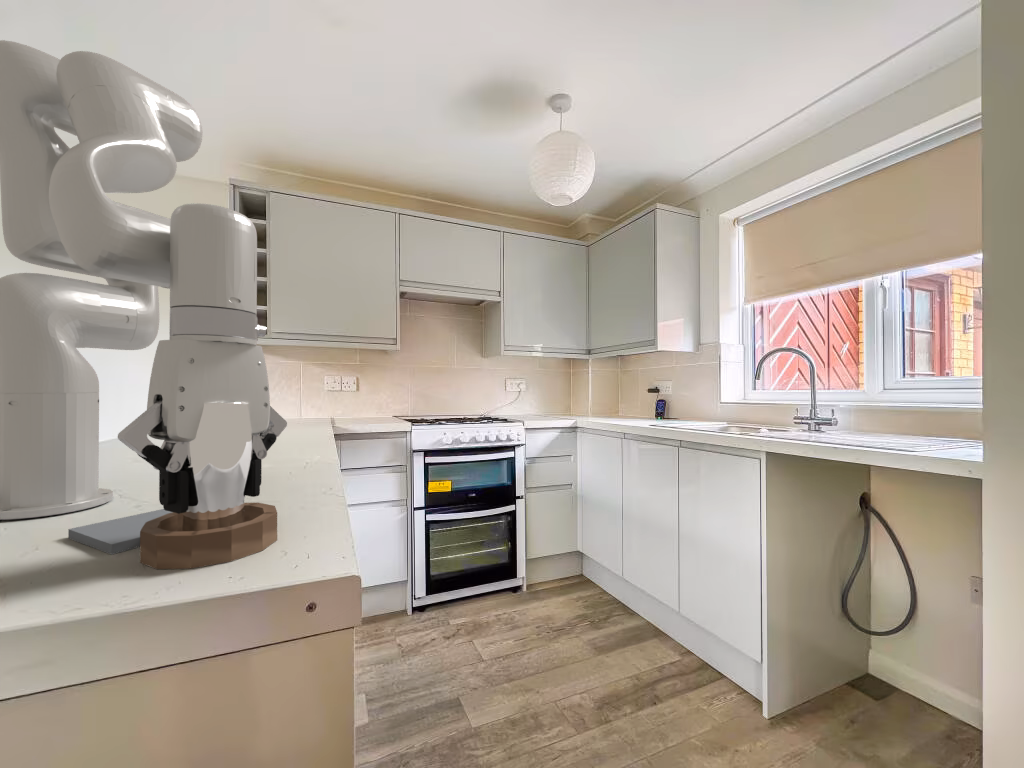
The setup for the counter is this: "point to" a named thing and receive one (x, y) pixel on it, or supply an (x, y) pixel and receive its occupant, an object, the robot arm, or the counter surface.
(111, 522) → the slate mat
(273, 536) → the ring
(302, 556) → the counter surface
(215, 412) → the beer glass
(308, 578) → the counter surface
